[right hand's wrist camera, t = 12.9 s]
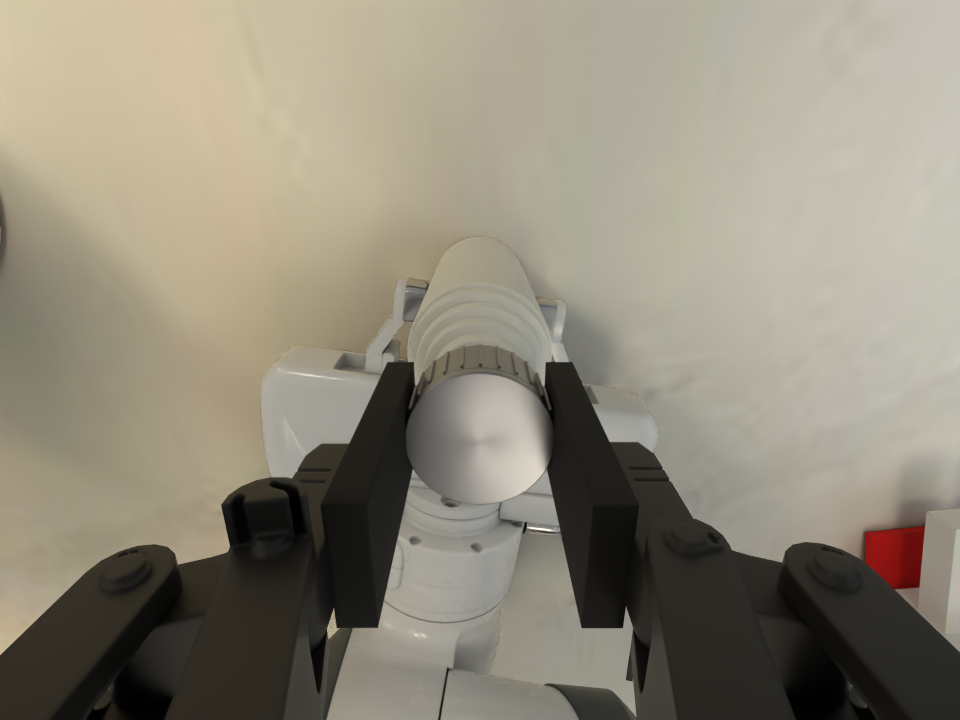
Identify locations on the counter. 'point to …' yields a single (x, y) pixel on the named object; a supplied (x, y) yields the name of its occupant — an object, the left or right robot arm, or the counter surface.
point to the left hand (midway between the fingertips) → (481, 290)
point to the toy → (923, 568)
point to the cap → (479, 426)
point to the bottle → (479, 307)
